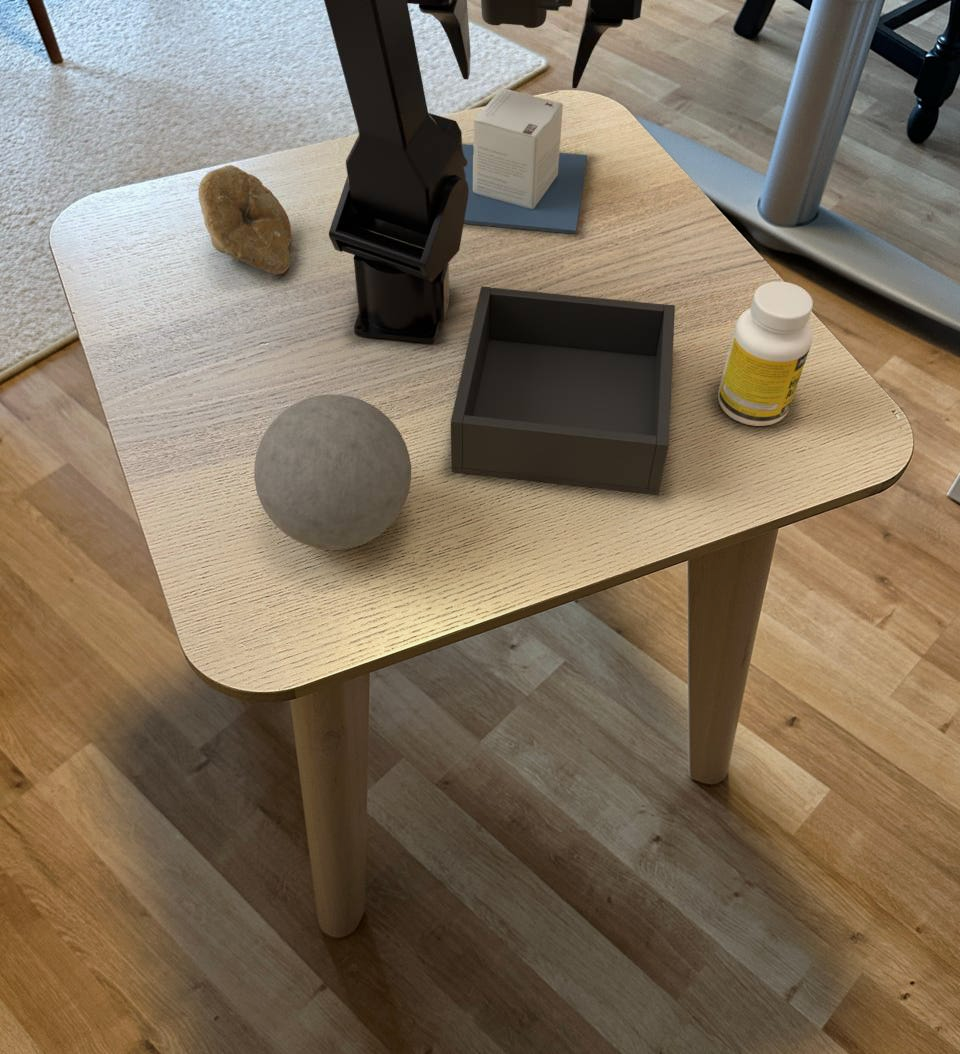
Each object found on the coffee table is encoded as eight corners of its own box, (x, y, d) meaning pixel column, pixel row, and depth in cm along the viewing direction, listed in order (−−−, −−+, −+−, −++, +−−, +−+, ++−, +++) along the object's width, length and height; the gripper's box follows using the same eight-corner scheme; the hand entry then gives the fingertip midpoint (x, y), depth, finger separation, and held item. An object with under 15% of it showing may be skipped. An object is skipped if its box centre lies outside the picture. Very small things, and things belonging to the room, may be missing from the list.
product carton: (498, 160, 101) (500, 85, 95) (559, 176, 99) (564, 101, 93) (471, 194, 97) (471, 118, 91) (533, 211, 96) (537, 135, 90)
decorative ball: (415, 467, 77) (409, 361, 69) (412, 580, 70) (406, 477, 62) (274, 468, 76) (252, 362, 69) (258, 582, 70) (232, 479, 62)
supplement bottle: (789, 433, 79) (823, 330, 71) (714, 422, 80) (740, 318, 72) (790, 383, 82) (823, 279, 75) (719, 373, 83) (744, 269, 75)
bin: (451, 471, 76) (450, 421, 72) (480, 336, 85) (481, 286, 82) (658, 495, 75) (668, 445, 71) (665, 355, 84) (675, 305, 80)
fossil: (207, 238, 84) (202, 144, 88) (177, 269, 86) (174, 177, 91) (301, 281, 90) (292, 191, 94) (271, 309, 92) (264, 220, 97)
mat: (440, 221, 95) (440, 217, 95) (461, 147, 103) (461, 143, 102) (575, 234, 94) (576, 230, 94) (586, 158, 102) (587, 154, 101)
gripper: (380, -84, 75) (393, 123, 87) (650, -66, 73) (625, 143, 85) (410, -145, 82) (418, 55, 94) (657, -130, 80) (633, 72, 92)
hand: (520, 81), depth 91 cm, fingers open, 9 cm apart
